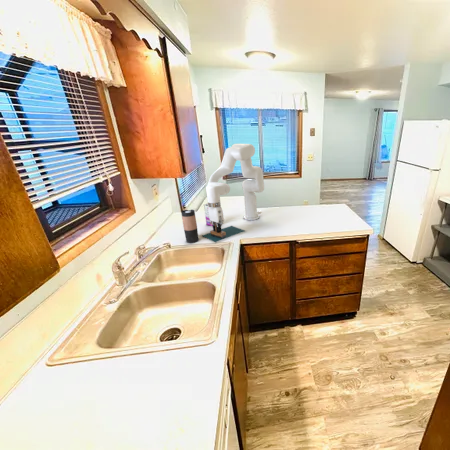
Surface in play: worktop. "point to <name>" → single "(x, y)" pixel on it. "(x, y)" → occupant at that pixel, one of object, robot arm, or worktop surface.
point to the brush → (218, 235)
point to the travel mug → (190, 226)
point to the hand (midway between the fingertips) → (217, 231)
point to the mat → (229, 232)
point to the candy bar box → (207, 215)
